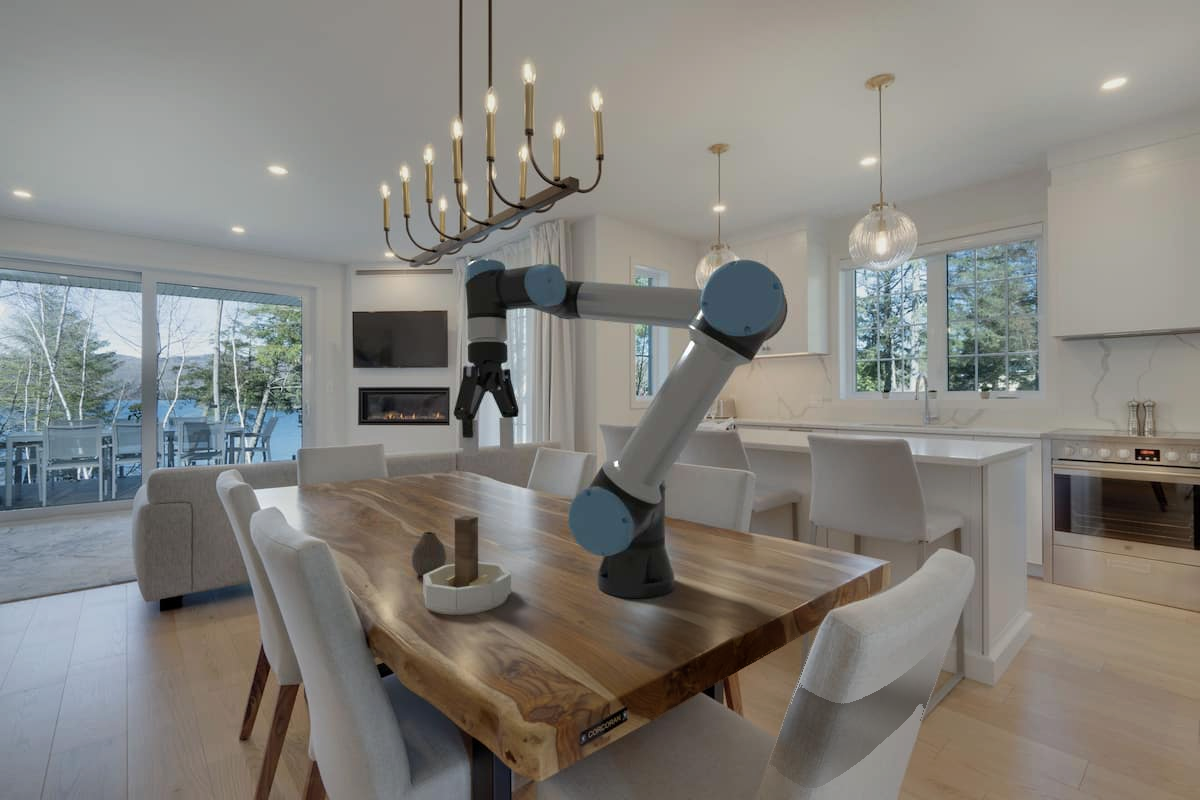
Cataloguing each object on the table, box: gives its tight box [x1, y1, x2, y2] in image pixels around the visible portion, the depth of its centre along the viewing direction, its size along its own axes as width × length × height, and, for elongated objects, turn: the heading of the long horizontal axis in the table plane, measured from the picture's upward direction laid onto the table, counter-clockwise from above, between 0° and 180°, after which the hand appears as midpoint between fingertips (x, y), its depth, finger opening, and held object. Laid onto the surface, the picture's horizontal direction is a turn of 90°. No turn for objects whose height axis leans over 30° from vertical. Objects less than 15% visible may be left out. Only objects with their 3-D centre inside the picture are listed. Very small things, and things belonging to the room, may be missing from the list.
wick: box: [454, 515, 479, 588], centre depth 100 cm, size 3×3×14 cm
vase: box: [411, 531, 447, 578], centre depth 114 cm, size 7×7×9 cm
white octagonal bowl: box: [422, 561, 512, 616], centre depth 100 cm, size 15×15×4 cm
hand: (490, 452), depth 104 cm, fingers open, 13 cm apart
